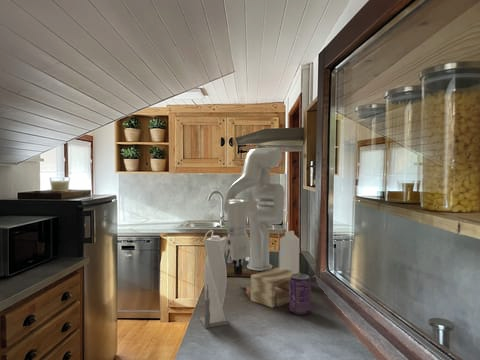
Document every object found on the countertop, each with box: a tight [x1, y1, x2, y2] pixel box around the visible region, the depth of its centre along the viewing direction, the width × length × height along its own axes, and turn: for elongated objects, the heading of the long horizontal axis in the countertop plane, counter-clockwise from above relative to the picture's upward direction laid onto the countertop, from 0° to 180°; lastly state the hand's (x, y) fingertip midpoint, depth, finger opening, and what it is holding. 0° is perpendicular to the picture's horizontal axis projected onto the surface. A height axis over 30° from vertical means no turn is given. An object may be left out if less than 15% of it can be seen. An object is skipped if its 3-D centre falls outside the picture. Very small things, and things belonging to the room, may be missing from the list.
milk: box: [279, 230, 300, 273], centre depth 147 cm, size 6×6×22 cm
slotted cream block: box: [247, 267, 301, 308], centre depth 128 cm, size 14×16×9 cm
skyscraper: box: [198, 229, 228, 329], centre depth 107 cm, size 8×8×28 cm
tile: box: [245, 285, 284, 299], centre depth 129 cm, size 16×7×3 cm, turn 45°
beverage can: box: [288, 273, 312, 316], centre depth 114 cm, size 7×7×12 cm
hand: (237, 274), depth 142 cm, fingers closed
